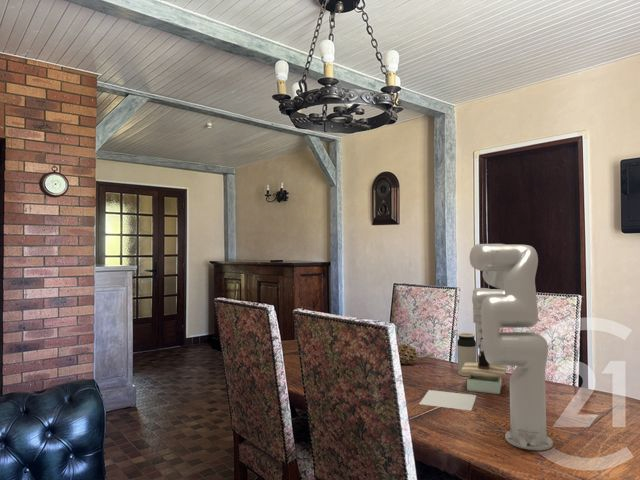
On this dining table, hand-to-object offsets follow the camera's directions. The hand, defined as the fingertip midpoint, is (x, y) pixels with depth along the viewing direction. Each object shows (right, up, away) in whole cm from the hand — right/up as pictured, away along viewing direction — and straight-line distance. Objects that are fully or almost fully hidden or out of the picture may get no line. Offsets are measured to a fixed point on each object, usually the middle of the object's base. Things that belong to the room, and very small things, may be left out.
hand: (484, 364), depth 184 cm
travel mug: (0, -11, +22) cm, 24 cm away
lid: (0, -3, 0) cm, 3 cm away
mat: (-18, -10, -14) cm, 25 cm away
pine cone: (-20, -11, +42) cm, 48 cm away
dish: (0, -10, 0) cm, 10 cm away
